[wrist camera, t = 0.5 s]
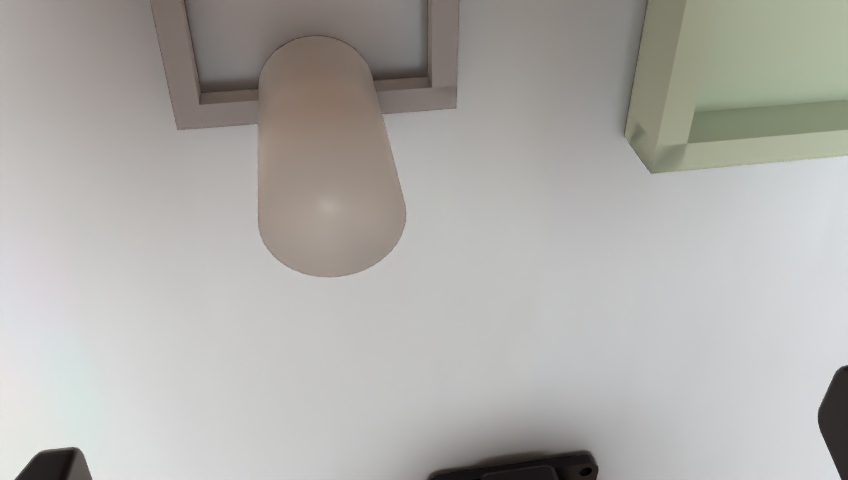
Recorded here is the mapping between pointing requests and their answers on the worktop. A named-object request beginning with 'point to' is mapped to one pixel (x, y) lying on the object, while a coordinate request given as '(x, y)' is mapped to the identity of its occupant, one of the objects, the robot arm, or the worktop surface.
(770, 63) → the tray
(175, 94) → the raised panel orange block
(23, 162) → the worktop surface
